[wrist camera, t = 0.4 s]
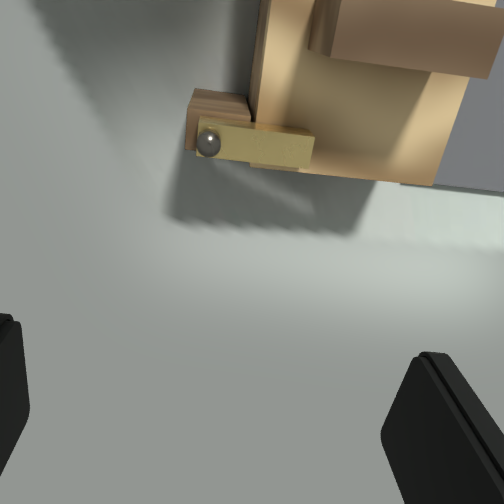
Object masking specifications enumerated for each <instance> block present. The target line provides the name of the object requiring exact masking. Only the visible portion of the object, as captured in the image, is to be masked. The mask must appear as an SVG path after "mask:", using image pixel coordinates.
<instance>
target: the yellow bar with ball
mask: <svg viewBox="0 0 504 504" xmlns="http://www.w3.org/2000/svg"><path fill="white" fill-rule="evenodd" d="M314 141H315V136H314V135H313V134H312V132H311V131H310V130H309V129H302V128H294V127H286V126H278V125H270V124H263V123H255V122H247V121H239V120H231V119H224V118H216V117H208V116H200V118H199V124H198V137H197V143H196V146H197V150H196V156H201V157H209V158H218V159H226V160H235V161H243V162H252V163H261V164H269V165H278V166H286V167H295V168H303V169H309V165H310V160H311V155H312V150H313V145H314Z"/></svg>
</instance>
